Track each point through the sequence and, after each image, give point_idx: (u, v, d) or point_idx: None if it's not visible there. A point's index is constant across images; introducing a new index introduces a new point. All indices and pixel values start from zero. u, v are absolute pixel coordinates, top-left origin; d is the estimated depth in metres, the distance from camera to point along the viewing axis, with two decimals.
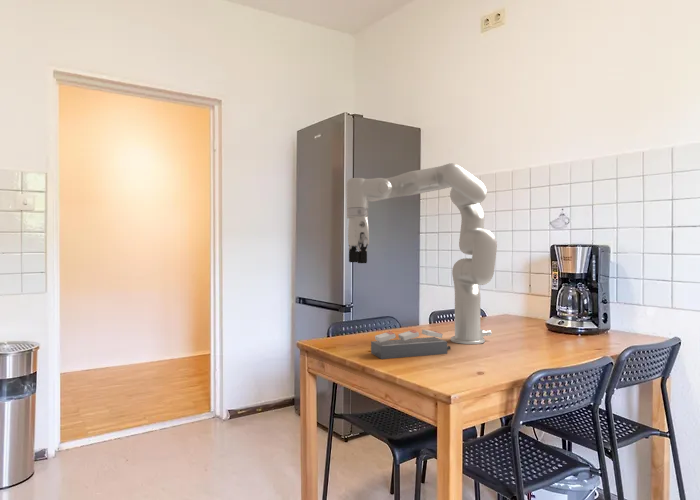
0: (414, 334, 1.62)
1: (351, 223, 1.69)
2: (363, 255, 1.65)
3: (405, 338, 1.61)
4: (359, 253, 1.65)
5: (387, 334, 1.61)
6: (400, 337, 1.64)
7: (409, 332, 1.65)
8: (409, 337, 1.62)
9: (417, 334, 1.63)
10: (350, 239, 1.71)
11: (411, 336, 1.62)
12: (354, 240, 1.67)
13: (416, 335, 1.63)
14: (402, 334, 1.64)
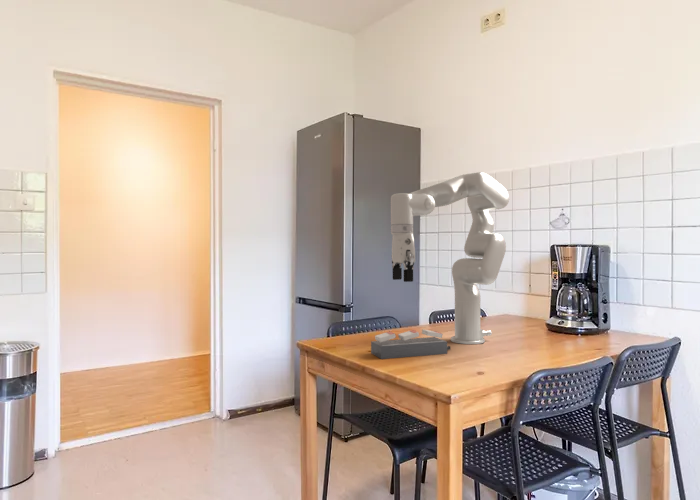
0: (414, 334, 1.62)
1: (396, 240, 1.63)
2: (409, 273, 1.59)
3: (405, 338, 1.61)
4: (405, 271, 1.59)
5: (387, 334, 1.61)
6: (400, 337, 1.64)
7: (409, 332, 1.65)
8: (409, 337, 1.62)
9: (417, 334, 1.63)
10: (394, 256, 1.65)
11: (411, 336, 1.62)
12: (399, 258, 1.61)
13: (416, 335, 1.63)
14: (402, 334, 1.64)
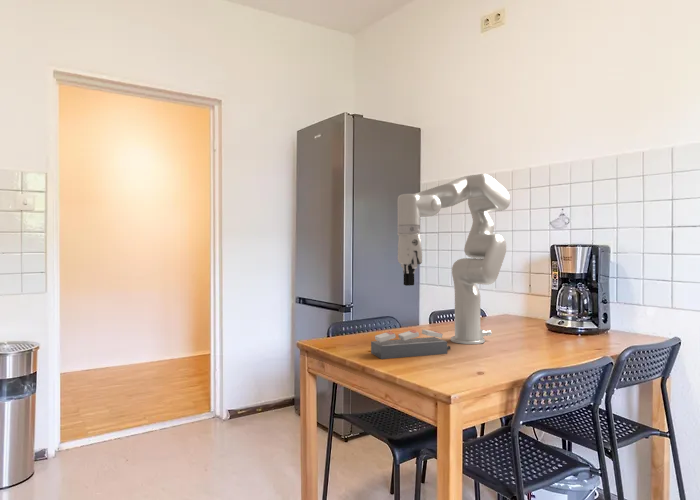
0: (414, 334, 1.62)
1: (402, 241, 1.62)
2: (411, 277, 1.63)
3: (405, 338, 1.61)
4: (406, 275, 1.63)
5: (387, 334, 1.61)
6: (400, 337, 1.64)
7: (409, 332, 1.65)
8: (409, 337, 1.62)
9: (417, 334, 1.63)
10: (401, 257, 1.64)
11: (411, 336, 1.62)
12: (406, 259, 1.60)
13: (416, 335, 1.63)
14: (402, 334, 1.64)
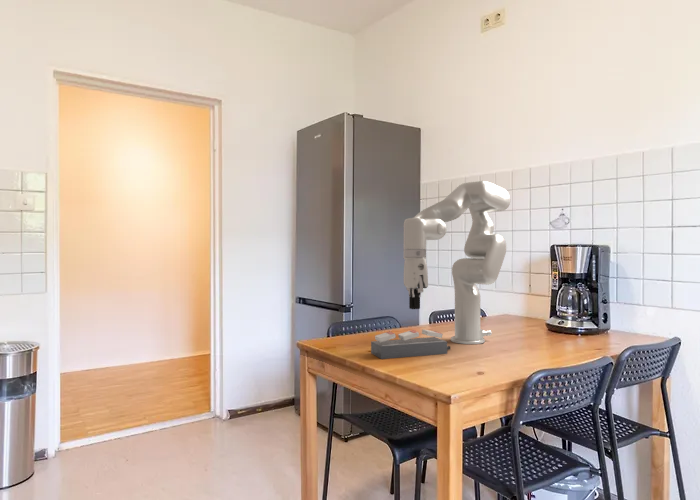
0: (414, 334, 1.62)
1: (408, 264, 1.63)
2: (416, 301, 1.63)
3: (405, 338, 1.61)
4: (412, 299, 1.63)
5: (387, 334, 1.61)
6: (400, 337, 1.64)
7: (409, 332, 1.65)
8: (409, 337, 1.62)
9: (417, 334, 1.63)
10: (407, 281, 1.65)
11: (411, 336, 1.62)
12: (412, 283, 1.61)
13: (416, 335, 1.63)
14: (402, 334, 1.64)
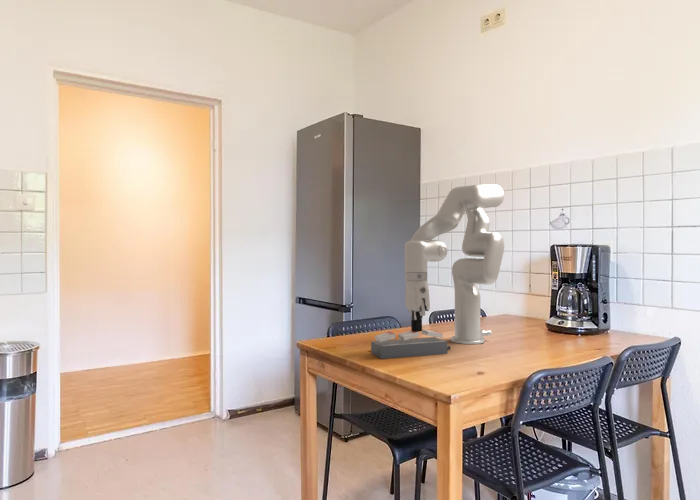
0: (414, 334, 1.62)
1: (410, 287, 1.63)
2: (418, 324, 1.64)
3: (405, 338, 1.61)
4: (414, 322, 1.64)
5: (387, 334, 1.61)
6: (400, 337, 1.64)
7: (409, 332, 1.65)
8: (409, 337, 1.62)
9: (417, 334, 1.63)
10: (408, 303, 1.65)
11: (411, 336, 1.62)
12: (414, 306, 1.61)
13: (416, 335, 1.63)
14: (402, 334, 1.64)
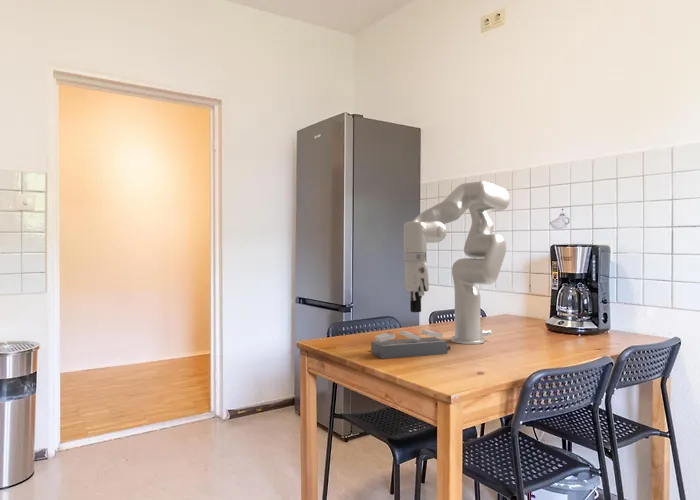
0: (416, 336, 1.63)
1: (409, 268, 1.63)
2: (417, 304, 1.64)
3: (406, 334, 1.62)
4: (413, 302, 1.64)
5: (387, 334, 1.61)
6: (401, 333, 1.64)
7: (411, 333, 1.65)
8: (410, 336, 1.62)
9: (418, 338, 1.63)
10: (407, 284, 1.65)
11: (412, 336, 1.62)
12: (413, 286, 1.61)
13: (417, 338, 1.63)
14: (404, 331, 1.64)
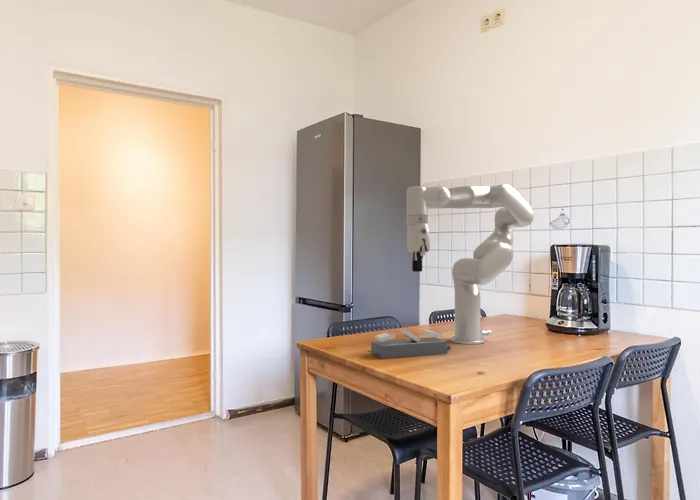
0: (416, 337, 1.63)
1: (411, 230, 1.74)
2: (419, 264, 1.75)
3: (407, 333, 1.62)
4: (415, 262, 1.75)
5: (387, 334, 1.61)
6: (402, 331, 1.64)
7: None
8: (411, 335, 1.62)
9: (418, 339, 1.63)
10: (410, 245, 1.76)
11: (413, 336, 1.62)
12: (415, 246, 1.72)
13: (417, 339, 1.63)
14: None
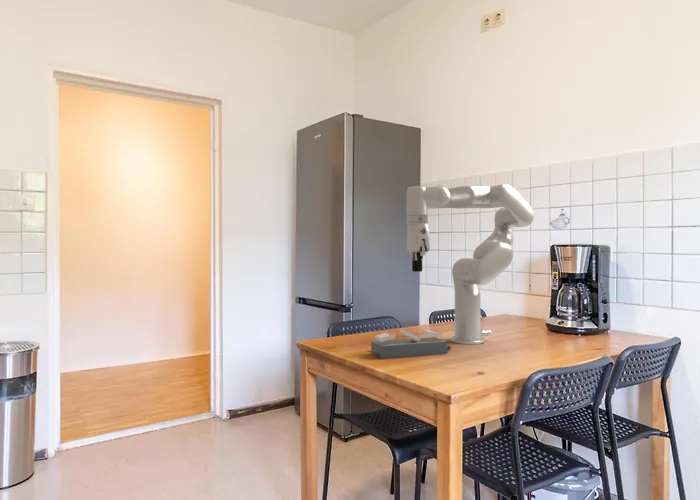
0: (416, 336, 1.63)
1: (411, 230, 1.74)
2: (419, 264, 1.75)
3: (407, 334, 1.62)
4: (415, 262, 1.75)
5: (387, 334, 1.61)
6: (402, 331, 1.64)
7: None
8: (410, 336, 1.62)
9: (418, 339, 1.63)
10: (410, 245, 1.76)
11: (412, 336, 1.62)
12: (415, 246, 1.72)
13: (417, 339, 1.63)
14: None
